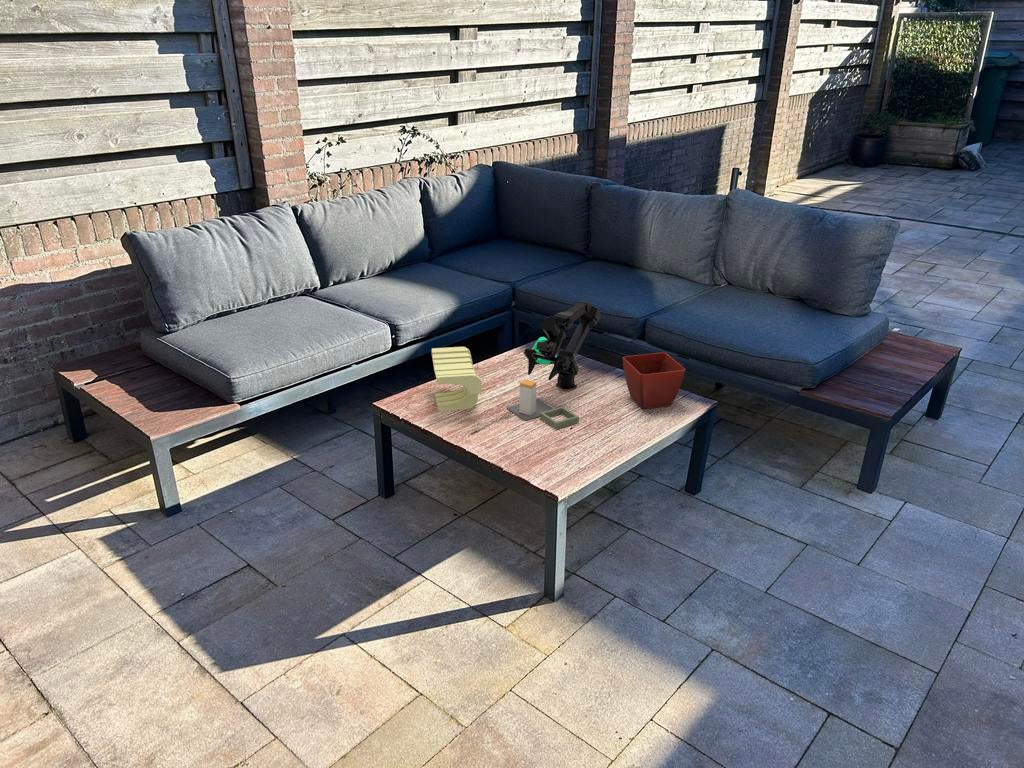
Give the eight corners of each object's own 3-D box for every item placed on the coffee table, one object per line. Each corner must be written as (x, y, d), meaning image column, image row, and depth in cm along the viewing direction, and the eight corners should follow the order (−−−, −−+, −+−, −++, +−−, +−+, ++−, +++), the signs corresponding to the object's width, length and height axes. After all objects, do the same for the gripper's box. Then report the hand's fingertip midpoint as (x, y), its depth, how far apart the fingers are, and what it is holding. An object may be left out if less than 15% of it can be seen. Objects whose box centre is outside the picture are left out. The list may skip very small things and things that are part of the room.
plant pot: (637, 414, 315) (641, 374, 308) (619, 394, 331) (621, 356, 325) (682, 408, 319) (686, 369, 312) (661, 389, 336) (665, 352, 329)
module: (524, 408, 317) (525, 379, 312) (535, 411, 314) (536, 382, 309) (519, 412, 313) (519, 382, 308) (530, 415, 311) (531, 385, 306)
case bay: (562, 412, 315) (562, 406, 314) (578, 422, 307) (579, 416, 306) (540, 418, 310) (540, 412, 309) (556, 429, 302) (556, 423, 301)
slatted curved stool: (481, 417, 311) (481, 374, 303) (440, 420, 308) (439, 377, 301) (470, 386, 338) (470, 346, 330) (432, 388, 335) (431, 348, 328)
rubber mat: (538, 400, 325) (538, 398, 325) (556, 412, 315) (556, 410, 315) (506, 408, 318) (506, 407, 318) (524, 421, 308) (524, 419, 308)
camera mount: (531, 365, 360) (532, 343, 355) (528, 358, 366) (529, 337, 362) (558, 363, 361) (558, 342, 357) (554, 357, 368) (555, 336, 364)
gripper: (526, 328, 317) (510, 363, 313) (568, 337, 308) (552, 373, 304) (536, 341, 327) (521, 375, 322) (576, 350, 318) (562, 385, 313)
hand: (538, 377), depth 315 cm, fingers open, 9 cm apart
